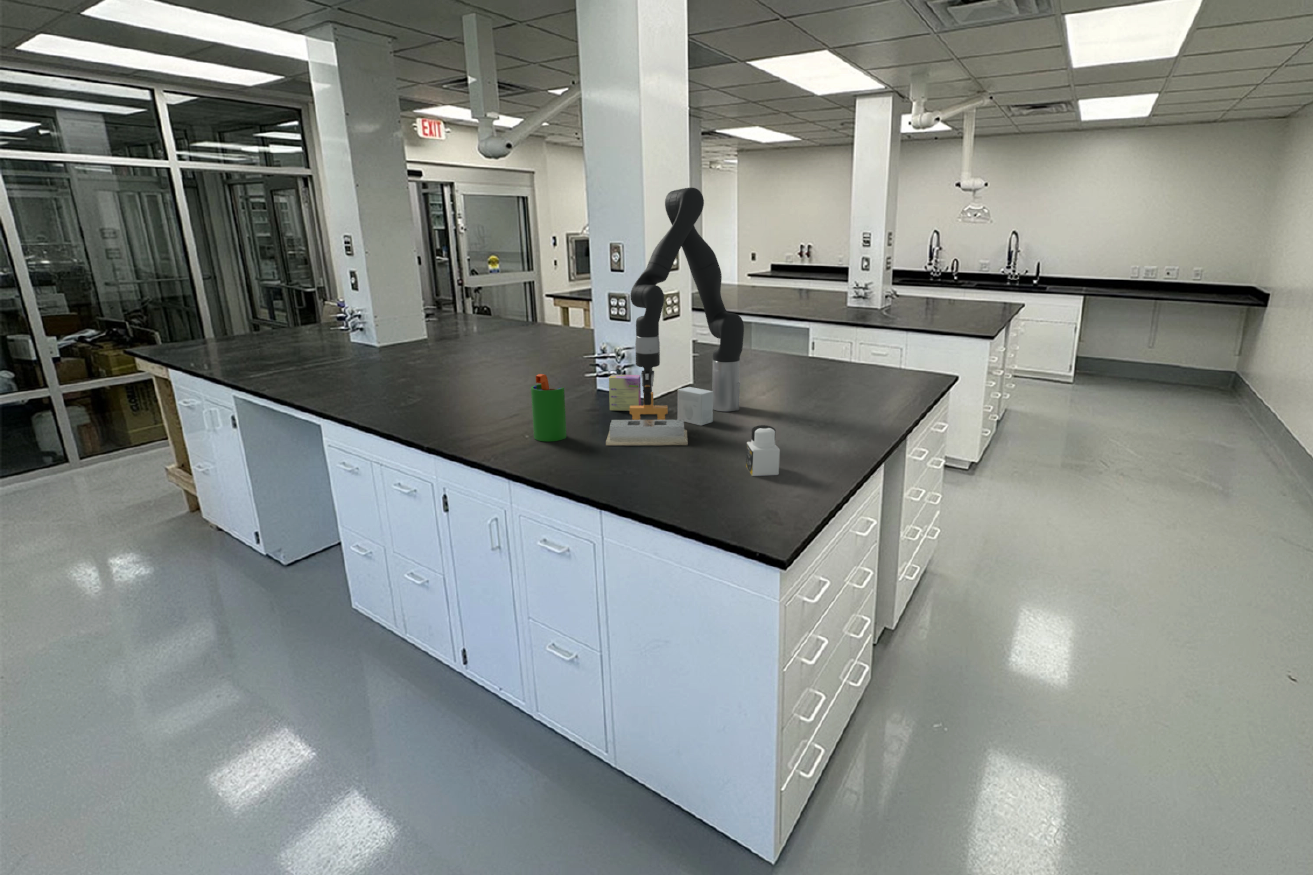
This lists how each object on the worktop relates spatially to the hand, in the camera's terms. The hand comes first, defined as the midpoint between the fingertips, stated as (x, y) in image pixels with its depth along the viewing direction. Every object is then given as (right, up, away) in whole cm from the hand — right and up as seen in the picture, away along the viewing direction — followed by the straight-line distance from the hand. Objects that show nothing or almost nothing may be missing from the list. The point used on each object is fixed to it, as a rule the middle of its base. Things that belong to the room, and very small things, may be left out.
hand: (648, 401), depth 207 cm
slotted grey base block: (0, -12, -10) cm, 15 cm away
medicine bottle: (+30, -20, -36) cm, 51 cm away
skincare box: (+15, -6, +8) cm, 18 cm away
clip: (0, -8, +3) cm, 8 cm away
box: (-8, -2, +23) cm, 24 cm away
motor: (-30, -12, -7) cm, 33 cm away
